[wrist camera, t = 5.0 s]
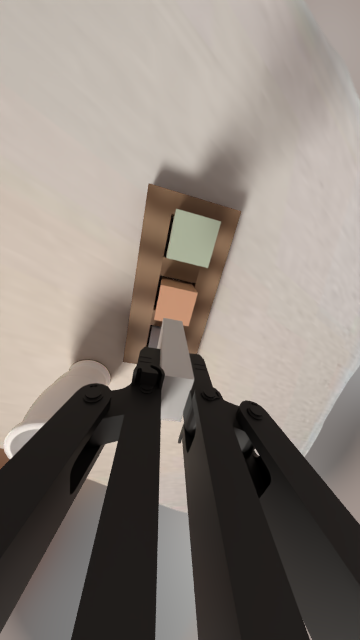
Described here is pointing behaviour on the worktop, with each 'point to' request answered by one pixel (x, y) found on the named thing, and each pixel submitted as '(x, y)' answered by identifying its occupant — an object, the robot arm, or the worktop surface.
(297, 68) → the worktop surface
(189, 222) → the sage green block
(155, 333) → the blue-gray block
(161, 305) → the terracotta toy cube
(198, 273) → the brown board
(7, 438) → the jar
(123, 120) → the worktop surface
